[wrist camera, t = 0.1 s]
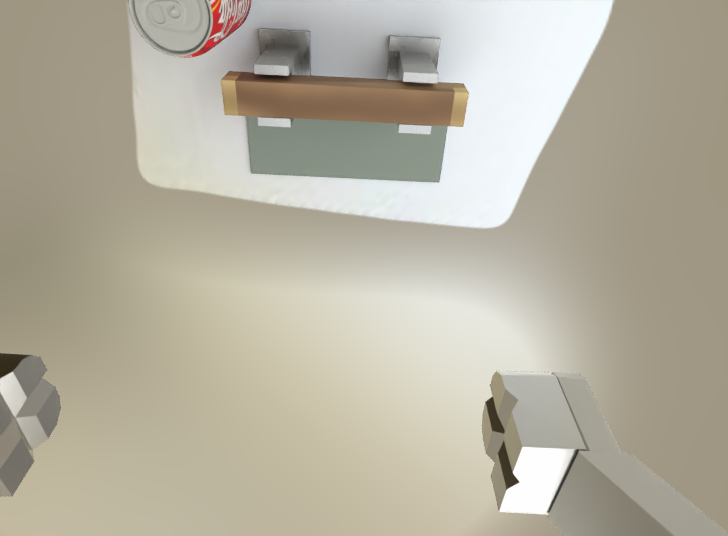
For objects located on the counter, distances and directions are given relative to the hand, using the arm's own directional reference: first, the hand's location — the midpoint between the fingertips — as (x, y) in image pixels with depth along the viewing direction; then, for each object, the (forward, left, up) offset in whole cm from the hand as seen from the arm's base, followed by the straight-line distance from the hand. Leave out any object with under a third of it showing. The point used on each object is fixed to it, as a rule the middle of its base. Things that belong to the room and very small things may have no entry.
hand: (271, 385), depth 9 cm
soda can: (-1, -13, -48) cm, 50 cm away
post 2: (+6, +6, -48) cm, 49 cm away
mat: (+14, 0, -48) cm, 50 cm away
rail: (+6, 0, -41) cm, 41 cm away
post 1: (+6, -7, -48) cm, 49 cm away
